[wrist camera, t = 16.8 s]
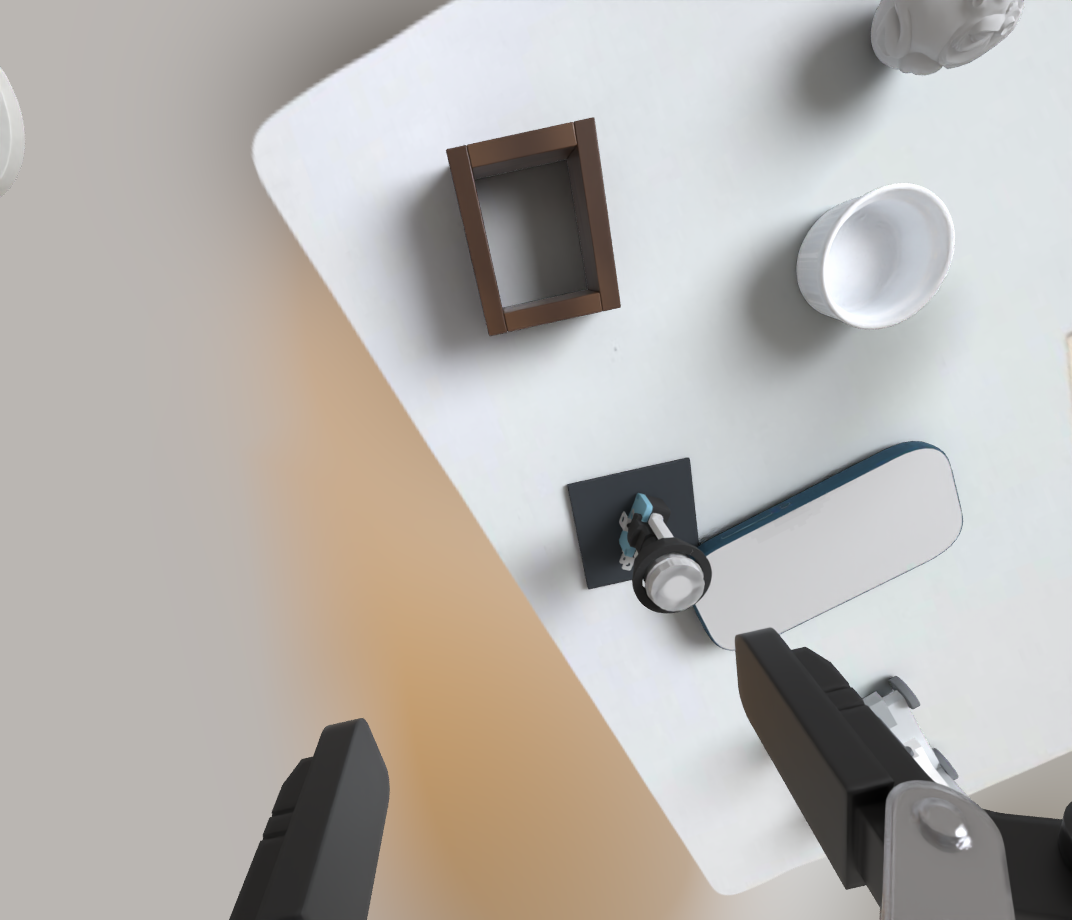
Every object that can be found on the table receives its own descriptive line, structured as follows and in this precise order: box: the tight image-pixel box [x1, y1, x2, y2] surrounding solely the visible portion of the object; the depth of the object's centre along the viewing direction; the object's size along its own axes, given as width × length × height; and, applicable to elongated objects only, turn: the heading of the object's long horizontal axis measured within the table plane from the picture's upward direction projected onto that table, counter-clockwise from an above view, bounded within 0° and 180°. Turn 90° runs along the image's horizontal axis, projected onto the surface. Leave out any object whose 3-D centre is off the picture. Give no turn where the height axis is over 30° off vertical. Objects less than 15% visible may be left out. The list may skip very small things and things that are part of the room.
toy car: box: [863, 676, 969, 798], centre depth 51 cm, size 18×10×12 cm
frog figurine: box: [871, 0, 1024, 75], centre depth 30 cm, size 6×7×7 cm
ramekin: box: [796, 183, 955, 329], centre depth 36 cm, size 9×9×4 cm
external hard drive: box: [689, 441, 963, 650], centre depth 45 cm, size 24×12×2 cm, turn 118°
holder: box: [446, 117, 621, 336], centre depth 34 cm, size 9×11×4 cm
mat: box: [567, 458, 699, 589], centre depth 44 cm, size 10×10×1 cm
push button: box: [619, 493, 712, 613], centre depth 39 cm, size 7×5×10 cm
